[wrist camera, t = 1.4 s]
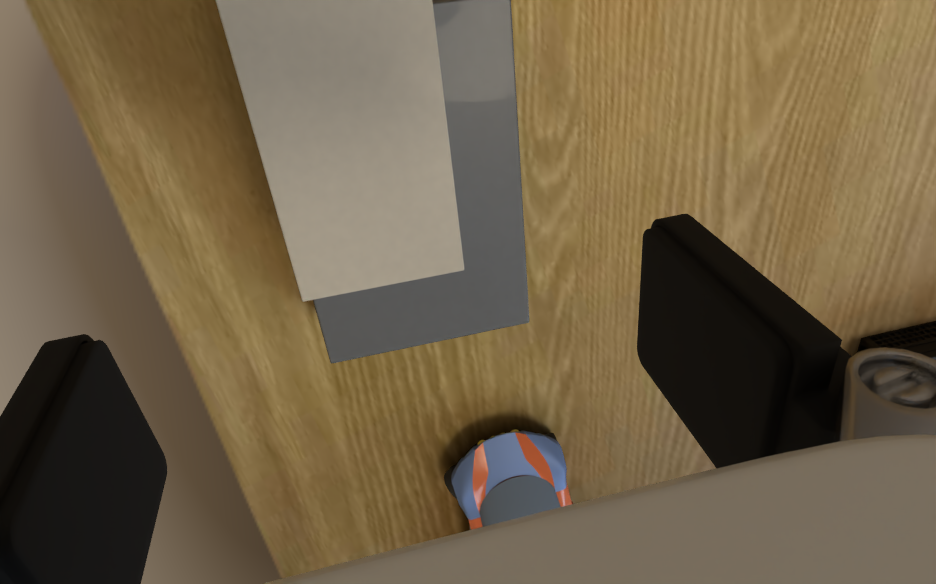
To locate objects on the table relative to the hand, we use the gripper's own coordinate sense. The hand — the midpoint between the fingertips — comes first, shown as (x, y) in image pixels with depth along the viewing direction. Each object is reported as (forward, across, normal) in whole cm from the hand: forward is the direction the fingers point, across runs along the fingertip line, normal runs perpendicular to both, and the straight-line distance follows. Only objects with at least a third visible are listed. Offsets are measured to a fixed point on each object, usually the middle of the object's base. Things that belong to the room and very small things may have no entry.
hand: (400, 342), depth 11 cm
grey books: (+19, -2, +4) cm, 20 cm away
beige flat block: (+15, 0, 0) cm, 15 cm away
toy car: (+19, -6, +29) cm, 35 cm away
